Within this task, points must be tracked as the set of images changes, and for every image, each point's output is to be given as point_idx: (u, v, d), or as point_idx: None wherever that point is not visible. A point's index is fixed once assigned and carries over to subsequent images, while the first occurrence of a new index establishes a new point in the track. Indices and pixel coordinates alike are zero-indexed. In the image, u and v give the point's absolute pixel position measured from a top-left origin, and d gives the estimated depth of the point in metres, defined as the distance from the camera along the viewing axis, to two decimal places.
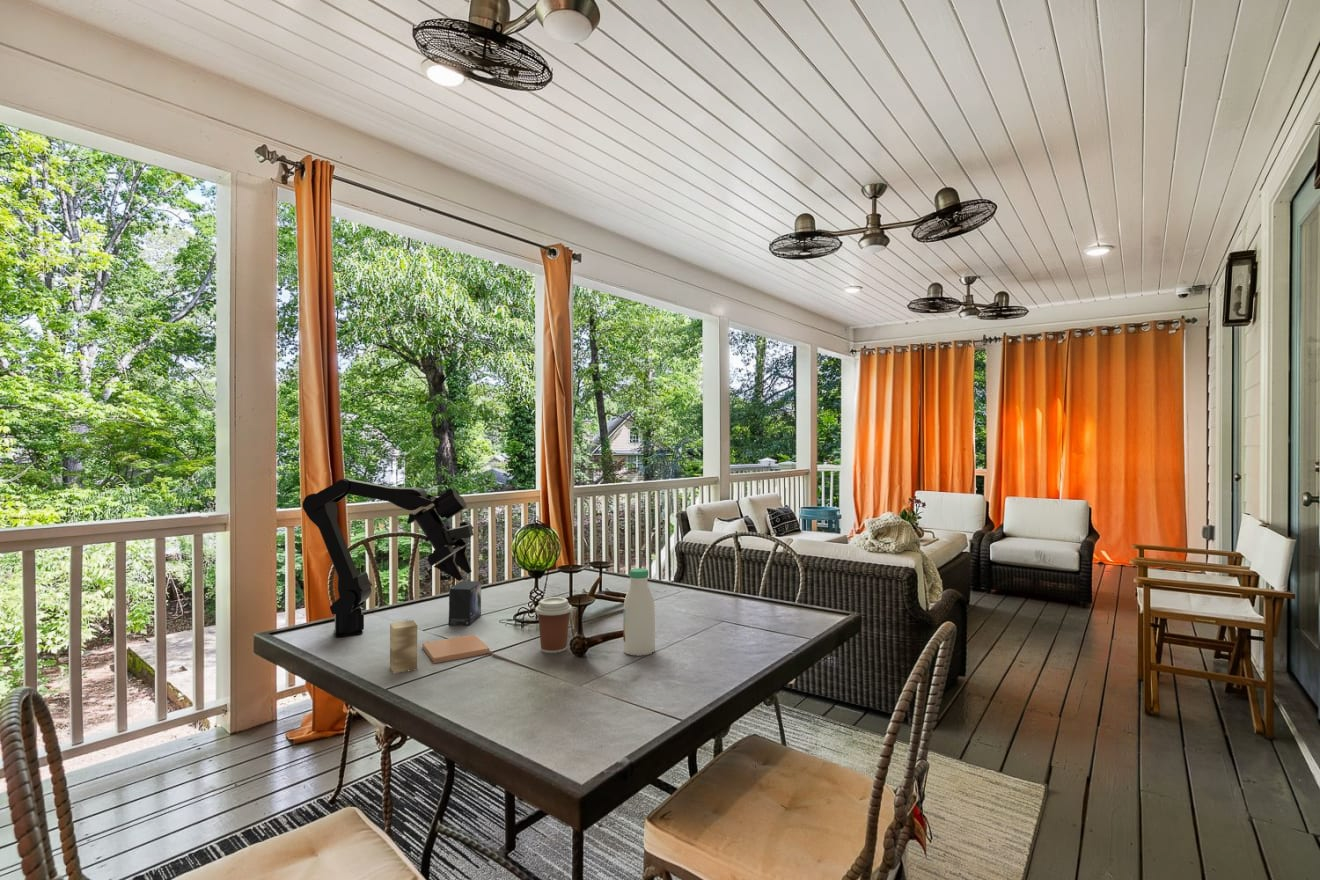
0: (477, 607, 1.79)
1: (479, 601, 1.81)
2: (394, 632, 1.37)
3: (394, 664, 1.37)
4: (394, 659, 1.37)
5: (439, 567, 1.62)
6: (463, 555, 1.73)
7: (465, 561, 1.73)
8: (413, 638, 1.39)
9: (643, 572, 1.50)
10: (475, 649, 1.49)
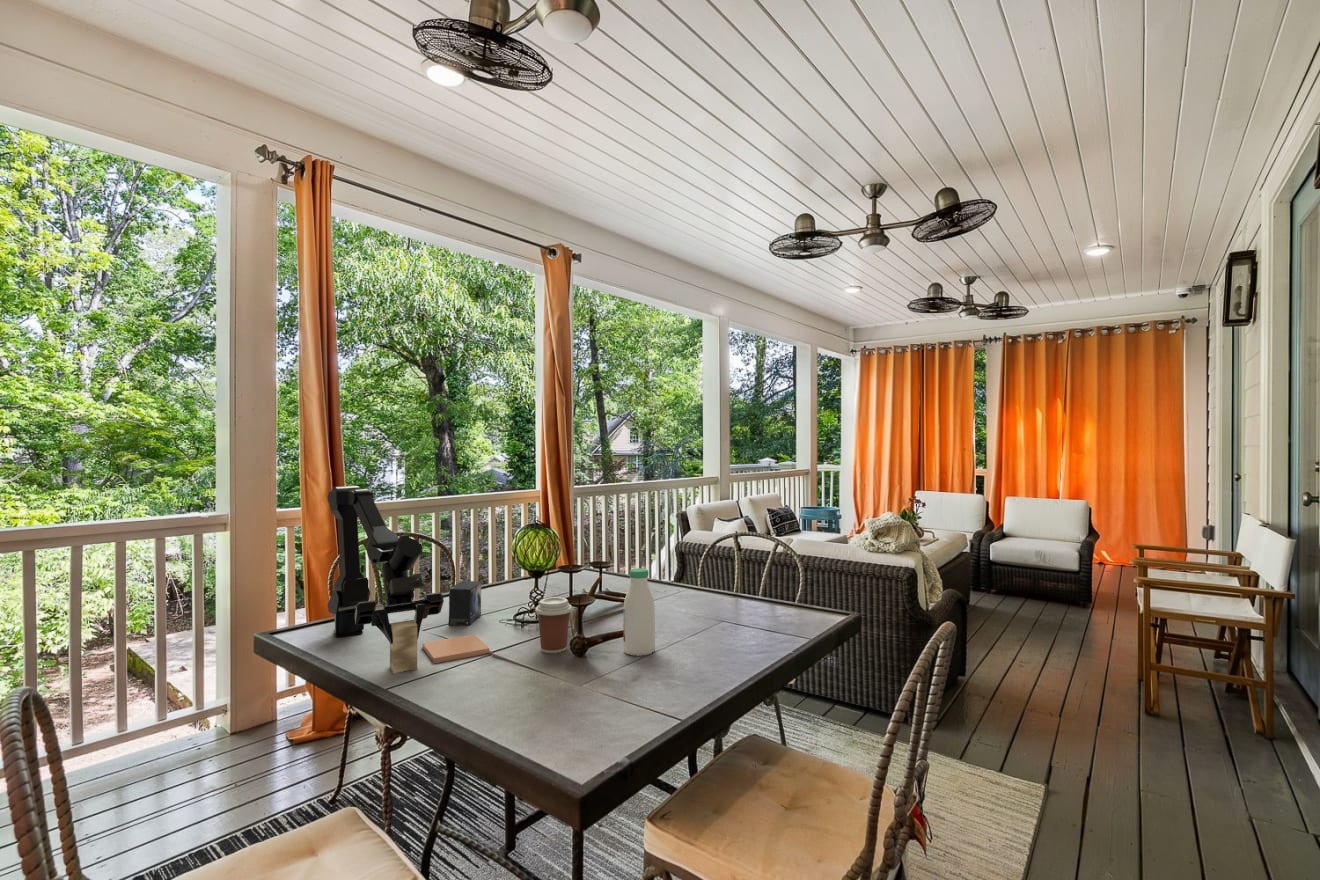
0: (477, 607, 1.79)
1: (479, 601, 1.81)
2: (394, 632, 1.37)
3: (394, 664, 1.37)
4: (394, 659, 1.37)
5: (378, 626, 1.42)
6: (416, 616, 1.43)
7: None
8: (413, 638, 1.39)
9: (643, 572, 1.50)
10: (475, 649, 1.49)
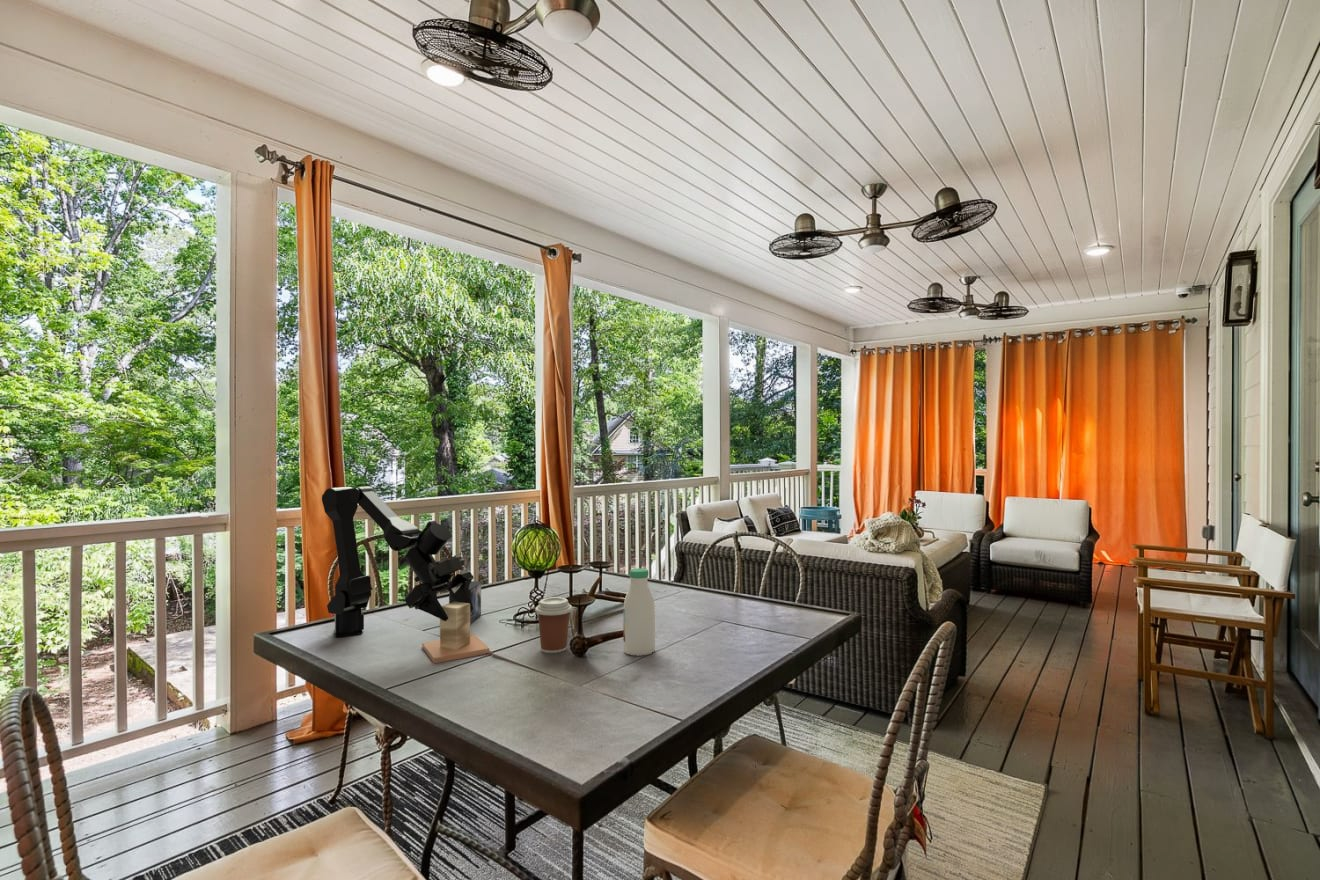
0: (477, 607, 1.79)
1: (479, 601, 1.81)
2: (456, 611, 1.49)
3: (456, 641, 1.49)
4: (456, 636, 1.49)
5: (422, 608, 1.48)
6: (463, 592, 1.57)
7: (466, 598, 1.57)
8: (467, 615, 1.53)
9: (643, 572, 1.50)
10: (475, 649, 1.49)
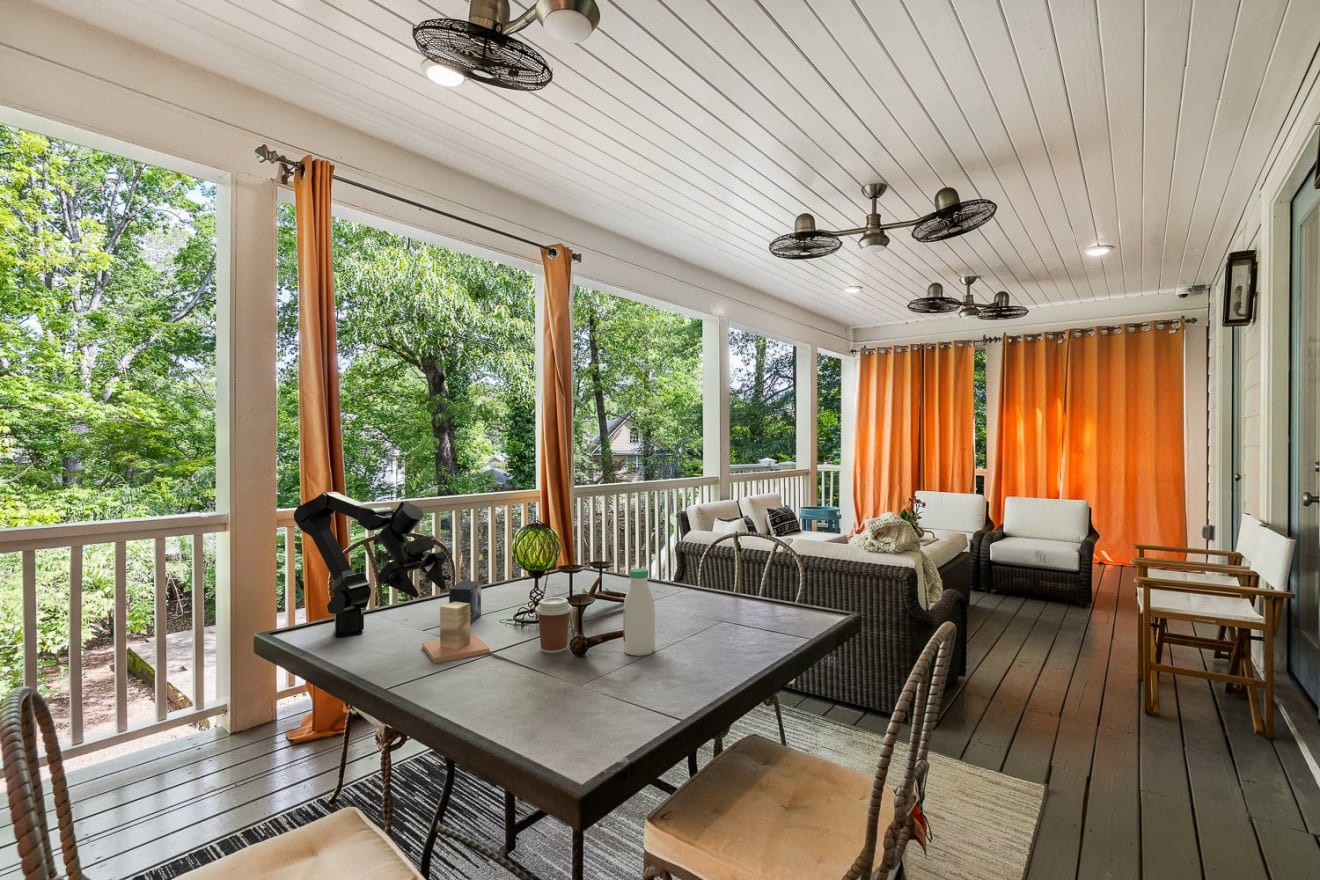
0: (477, 607, 1.79)
1: (479, 601, 1.81)
2: (456, 611, 1.49)
3: (456, 641, 1.49)
4: (456, 636, 1.49)
5: (393, 585, 1.52)
6: (436, 570, 1.61)
7: (438, 577, 1.60)
8: (467, 615, 1.53)
9: (643, 572, 1.50)
10: (475, 649, 1.49)
